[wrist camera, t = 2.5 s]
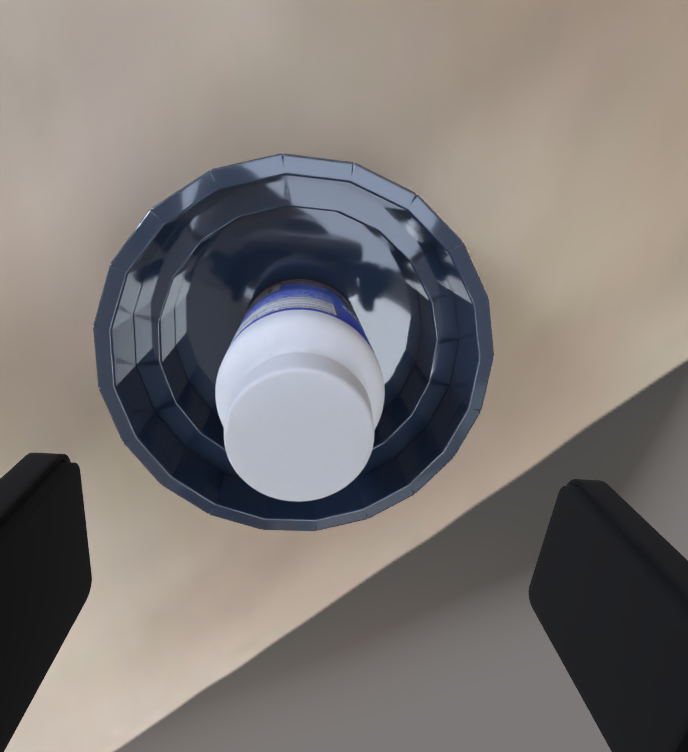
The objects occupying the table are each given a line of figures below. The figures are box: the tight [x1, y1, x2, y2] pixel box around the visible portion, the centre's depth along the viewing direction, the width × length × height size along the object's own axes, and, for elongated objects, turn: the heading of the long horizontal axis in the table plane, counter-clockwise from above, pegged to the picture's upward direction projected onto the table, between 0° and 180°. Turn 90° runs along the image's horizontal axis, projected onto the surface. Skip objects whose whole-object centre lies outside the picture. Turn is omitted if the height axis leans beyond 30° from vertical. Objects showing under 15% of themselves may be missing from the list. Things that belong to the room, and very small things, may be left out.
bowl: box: [93, 154, 494, 531], centre depth 19 cm, size 14×14×5 cm
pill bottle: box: [215, 279, 385, 502], centre depth 17 cm, size 5×5×10 cm
